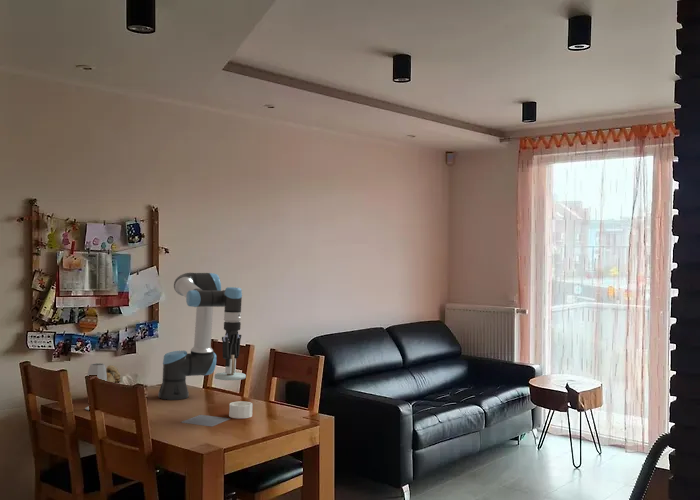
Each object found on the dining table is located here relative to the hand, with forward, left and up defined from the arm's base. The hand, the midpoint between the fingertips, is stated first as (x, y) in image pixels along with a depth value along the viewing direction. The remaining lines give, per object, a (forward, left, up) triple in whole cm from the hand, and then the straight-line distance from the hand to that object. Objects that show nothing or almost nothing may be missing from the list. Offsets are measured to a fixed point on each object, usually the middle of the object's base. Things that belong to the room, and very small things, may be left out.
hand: (230, 372), depth 299 cm
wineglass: (+14, -63, -21) cm, 68 cm away
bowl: (-5, +3, -21) cm, 21 cm away
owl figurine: (-6, -73, -21) cm, 76 cm away
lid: (0, 0, -2) cm, 2 cm away
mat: (+10, -6, -21) cm, 23 cm away
